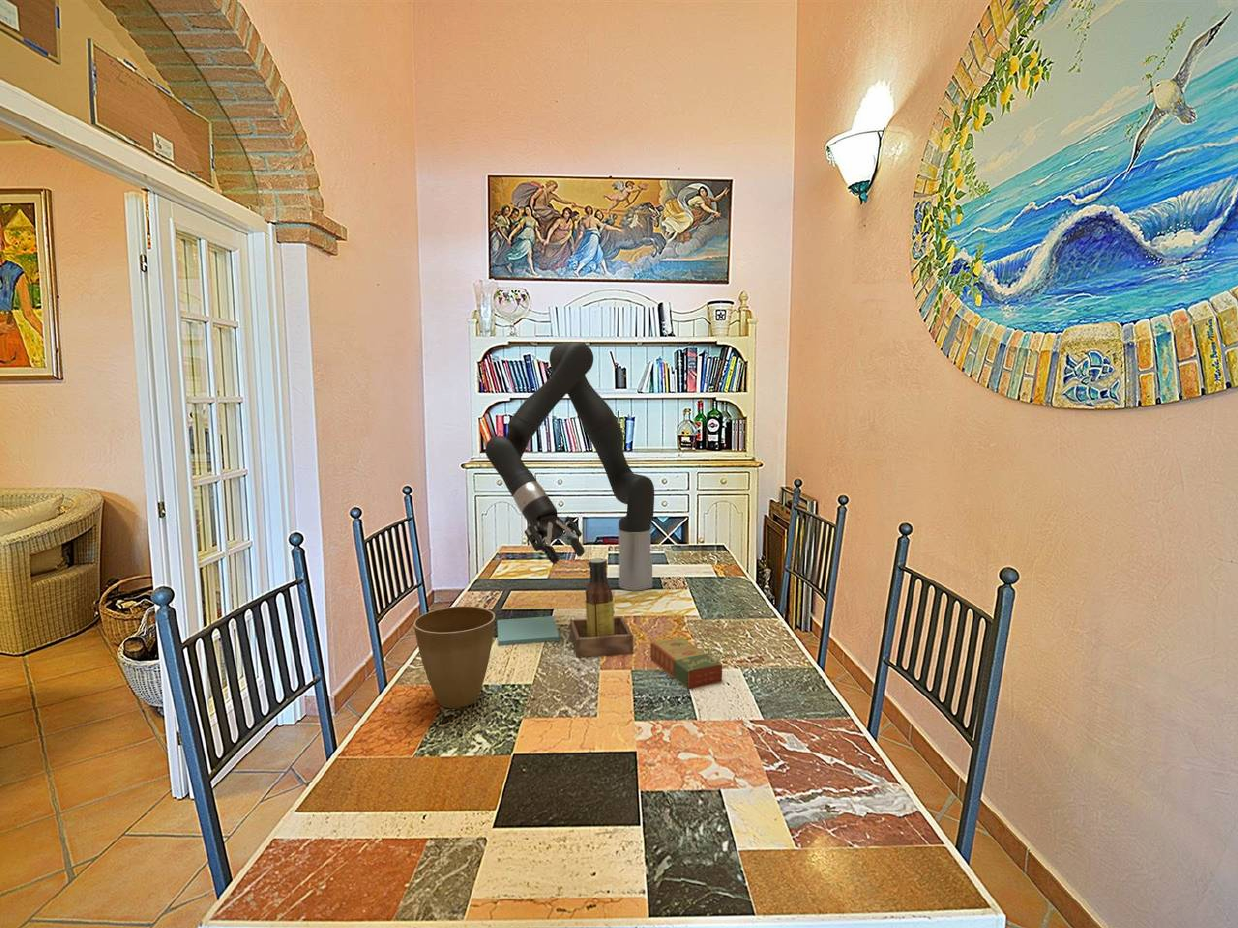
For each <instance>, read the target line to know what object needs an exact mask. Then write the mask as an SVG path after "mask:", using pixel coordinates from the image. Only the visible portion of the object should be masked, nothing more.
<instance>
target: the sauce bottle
mask: <svg viewBox="0 0 1238 928" xmlns="http://www.w3.org/2000/svg"><path fill="white" fill-rule="evenodd" d="M607 563H608V562H607V559H606V558H604V557H595V558H594V557H593V558H590V559H589V560H588V567H589V581H588V583H587V585H586V589H585V610H586V619H587V636H586V638H589V637H602V636H615V635H616V634H615V632H614V617H615V615H614V613H615V612H614V596H613V590H612V588H611V586H610V584H609V582H608V577H607V566H608V565H607Z"/></svg>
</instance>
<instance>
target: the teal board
mask: <svg viewBox="0 0 1238 928" xmlns="http://www.w3.org/2000/svg"><path fill="white" fill-rule="evenodd" d="M497 641H498V642H497V643H498V644H497V645H498V646H507V645H509V646H510V645H519V644H520V645H521V643H522V644H534V643H533V642H535V643H546V641H548V642H558V641H560V633H559V631H558V626H557V623H556V620H555V616H554V615H550V616H549V615H548V616H535V617H533V616H532V617H523V618H522V617H521V618H507V619H506V618H505V619H497Z"/></svg>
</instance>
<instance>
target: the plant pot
mask: <svg viewBox="0 0 1238 928" xmlns="http://www.w3.org/2000/svg"><path fill="white" fill-rule="evenodd" d="M412 624H413V629H414V634H415V639H416V644H417V648H418V651H419V652H418V653H419V655H420V658H421V663H422V666H423V668H424V672H425V674H426V677H427V680H428V682H429V685H430V688H431V690H432V692H433V694H434V696H435V699H436V702H437V703H438V705H440V706H441V707H444V708H447V709H460V708H461V709H462V708H465V707H468V706H470V705H473V704H475V702H477V700H478V698H479V695H480V693H481V691H482V687H483V684H484V680H485V677H486V673H487V671H488V666H489V661H490V657H491V652H492V645H493V640H494V633H495V625H496V614H495V613H494V612H493V611H492V610H490V609H487V608H485V607H479V606H467V605H466V606H465V605H464V606H462V605H461V606H449V607H443V608H437V609H435V610H431V611H429V612H426V613H423V614H421V615H419V616H417V617H416V618H415V619H414V621H413V623H412Z"/></svg>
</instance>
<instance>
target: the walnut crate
mask: <svg viewBox="0 0 1238 928" xmlns="http://www.w3.org/2000/svg"><path fill="white" fill-rule="evenodd" d="M614 632H615V636H602V637H589V638H587V618H575V619H569V638H570V640H571V644H572V647H573V651H574V650H575V651H574V654H575V653H576V654H575V656H576V658H587V657H588V658H589V657H598V656H608V655H609V656H610V655H611V656H612V655H623V654H634V634H633V633H632V631H631V629H630V627H629V626H628V625H627V623H626V620H625V619H624V617H623V616H622V615H621V616H620V615H618V616H614Z"/></svg>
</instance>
